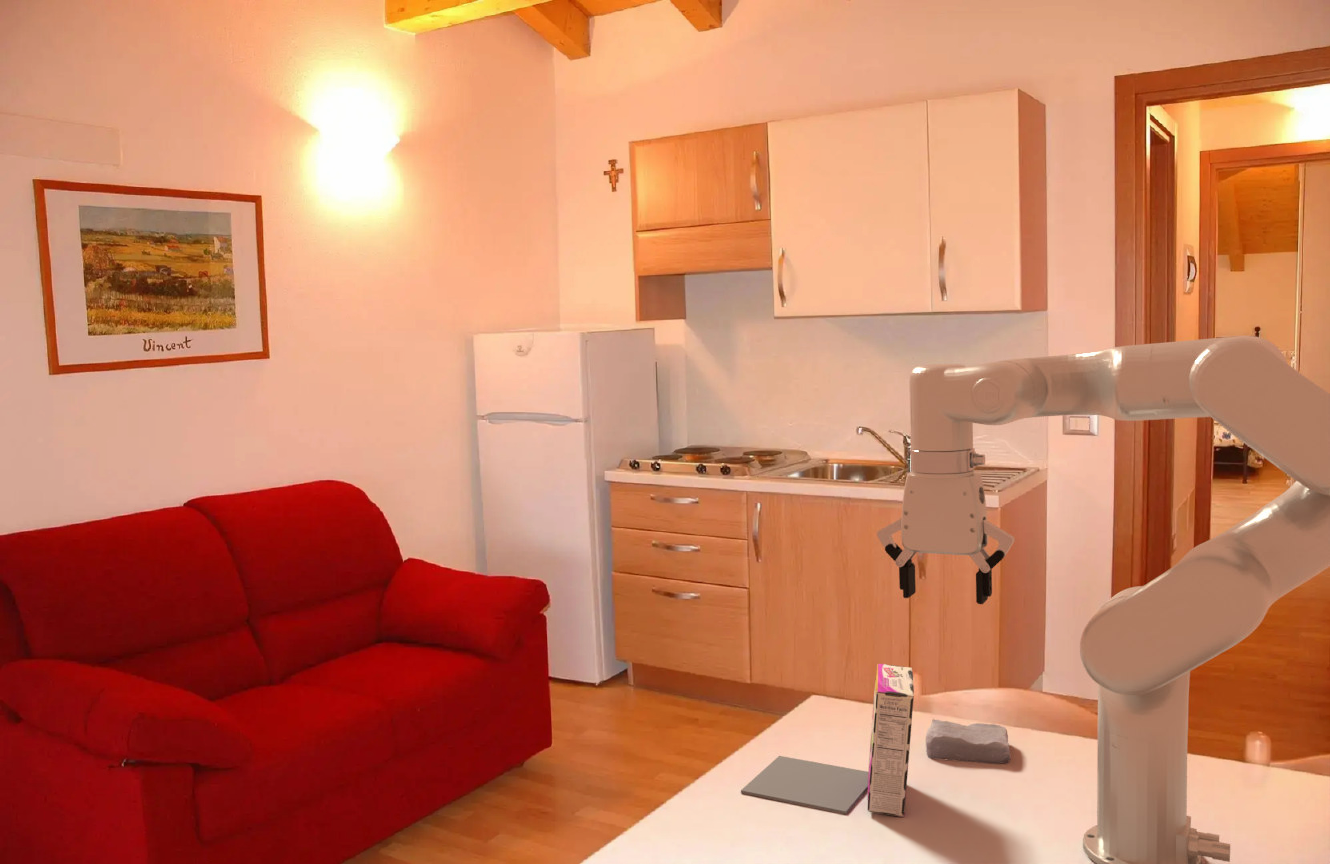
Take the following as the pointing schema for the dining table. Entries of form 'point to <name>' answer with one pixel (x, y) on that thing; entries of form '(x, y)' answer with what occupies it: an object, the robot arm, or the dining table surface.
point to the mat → (809, 784)
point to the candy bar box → (890, 739)
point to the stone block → (967, 742)
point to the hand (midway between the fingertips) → (945, 598)
